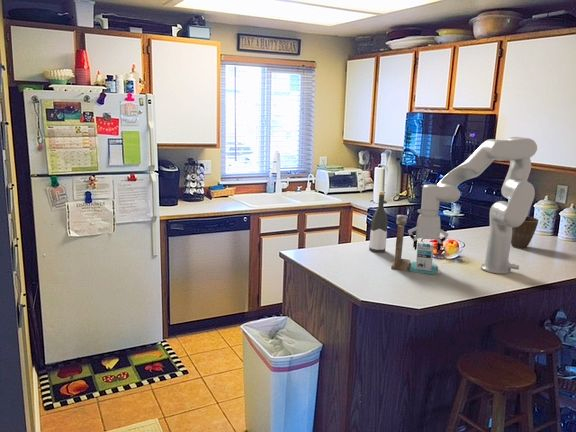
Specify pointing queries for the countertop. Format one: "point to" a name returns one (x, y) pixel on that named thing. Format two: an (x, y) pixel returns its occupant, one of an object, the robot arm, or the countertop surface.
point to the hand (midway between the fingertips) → (426, 250)
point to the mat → (433, 270)
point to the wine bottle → (379, 227)
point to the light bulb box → (424, 255)
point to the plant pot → (524, 233)
